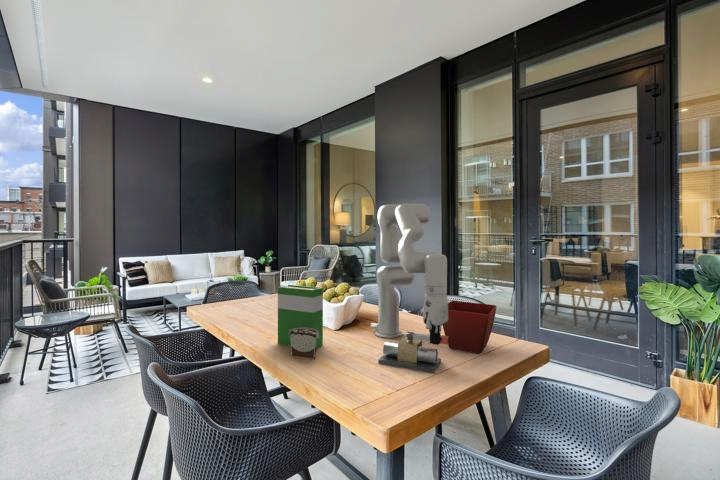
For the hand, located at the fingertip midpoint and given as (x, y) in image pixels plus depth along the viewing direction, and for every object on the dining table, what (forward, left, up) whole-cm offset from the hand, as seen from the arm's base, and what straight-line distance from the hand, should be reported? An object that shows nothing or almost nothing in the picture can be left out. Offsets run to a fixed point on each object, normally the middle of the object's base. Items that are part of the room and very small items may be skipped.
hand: (434, 343), depth 123 cm
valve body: (-10, +3, -9) cm, 14 cm away
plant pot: (+6, +31, -10) cm, 33 cm away
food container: (-48, -7, -10) cm, 49 cm away
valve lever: (-4, +3, 0) cm, 5 cm away
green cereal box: (-58, +3, -10) cm, 59 cm away
